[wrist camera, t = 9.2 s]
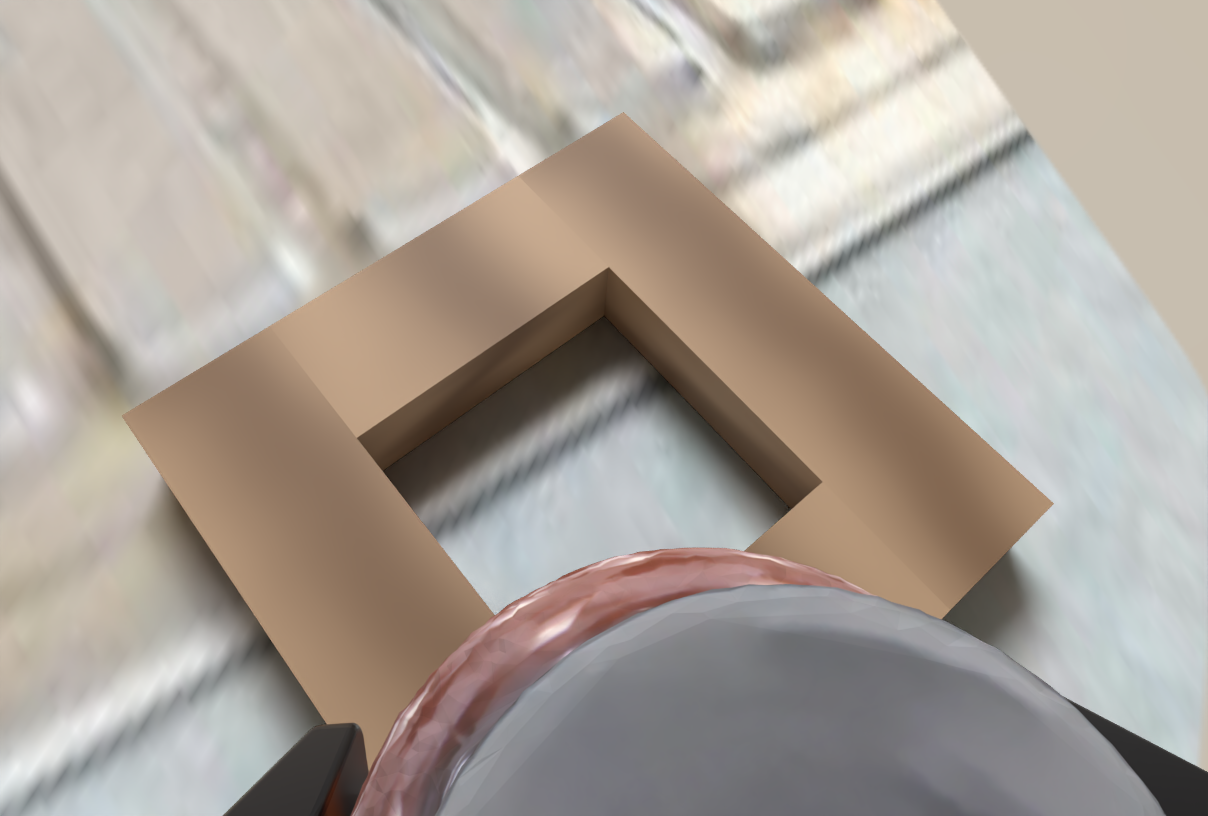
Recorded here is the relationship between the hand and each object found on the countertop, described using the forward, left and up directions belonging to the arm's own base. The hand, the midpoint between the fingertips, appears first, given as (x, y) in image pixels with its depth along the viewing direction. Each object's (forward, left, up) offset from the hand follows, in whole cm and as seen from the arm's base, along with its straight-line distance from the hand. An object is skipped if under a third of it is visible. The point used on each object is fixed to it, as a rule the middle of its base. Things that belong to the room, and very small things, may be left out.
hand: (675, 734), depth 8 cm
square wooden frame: (+4, +5, -12) cm, 14 cm away
